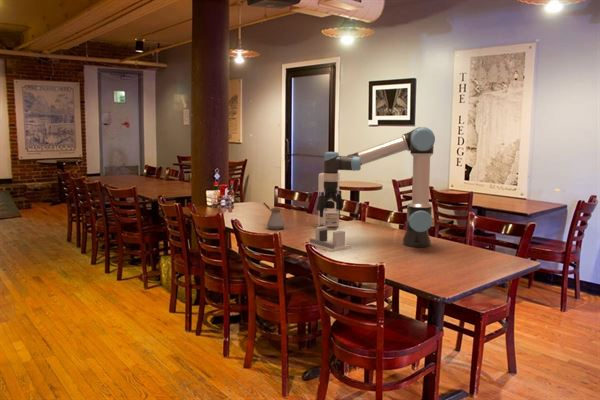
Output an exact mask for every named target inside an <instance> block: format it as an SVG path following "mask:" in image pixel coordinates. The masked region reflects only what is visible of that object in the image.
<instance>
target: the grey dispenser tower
mask: <svg viewBox="0 0 600 400" xmlns="http://www.w3.org/2000/svg"><path fill="white" fill-rule="evenodd" d="M324 181H325V180H324V172H321V173H319V174H318V190H317V191H318V193H317V195H318V196H317V197H318V198H317V200H319V192H323V191H324ZM337 182H338V188H337V190H340V173H339V172H338V180H337ZM336 196H337V194H336ZM328 201H333V199H332V198H330V199H329V200H328ZM324 210H325V209H324ZM317 219H318V224H317V227H323V226H324V225H322V224H321V223H320V211H319V210H318V218H317ZM339 226H340V224H339V225H338V226H325V227H327V231H338V229H339V228H340V227H339Z"/></svg>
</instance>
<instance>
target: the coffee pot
mask: <svg viewBox="0 0 600 400" xmlns="http://www.w3.org/2000/svg"><path fill="white" fill-rule="evenodd" d="M261 205H263V206H265V207H266V208H267V210H268V211H270V212H271V213H270V216H269V219H268V221H267V223H266V226H267V227H268V228H269V230H271V231H279V230H280V231H281V230H283V228H284V227H285V225H286V224H285V221H284V219H283V216H282V214H281V210H282V209H281V208H279V207H278V208H277V207H275V208H271V207H269V205H267V203H266V202H263V203H262V204H261Z"/></svg>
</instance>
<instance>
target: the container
mask: <svg viewBox="0 0 600 400" xmlns="http://www.w3.org/2000/svg"><path fill="white" fill-rule="evenodd" d="M324 211H325V223H324V224H323V223H321V224H322V225H324V226H338V225H339V226H340V224H339V221H340V215H339V212H338V211H336V202H335V201H328V202H327V204H326V206H325V210H324Z"/></svg>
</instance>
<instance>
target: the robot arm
mask: <svg viewBox="0 0 600 400" xmlns="http://www.w3.org/2000/svg"><path fill="white" fill-rule="evenodd" d="M435 143H436V136H435V134H434V132H433V131H432V130H431V128H428V127H425V126H421V127H419V126H418V127H416V128H414V129H412V130H410V131H408V132H406V133H404V134H402V136H401V137H397V138H395V139H392V140H389V141H385V142H383V143H380V144H377V145H374V146H372V147H369V148H366V149H363V150H360V151H358V152H354V153H352V154H351V153H350V154H348V155H346V156H345V155H340V154H339V152H338V151H326V152H325V153H324V157H323V158H324V160H323V173H324V180H325V181H324V191H323V192H319V200H318V199H317V200H318V201H317V205H316V211H318V212H319V211H320V223H323V224H324V223H325V211H324V209H325V206H326V204H327V202H328V200H329V199H330V198H332V199H333V201H335V202H336V211H338V212H339V216H340V215H341V210H342V209H343V208H344V204H343V198H342V190H340V189H339V190H337V188H338V182H337V180H338V173H339V171H353V172H355V171H356V172H357V171H360V170H361V167H362V166H363V165H366V164H369V163H372V162H375V161H377V160H381V159H384V158H387V157H390V156H392V155H397V154H398V153H402V152H405V151H408V152H409V153H410V155H411V156H412V157H413V158H412V197H411V202H410V203H408V204H407V207H406V230H405V233H404V236H403V238H402V244H403V246H407V247H413V248H426V247H427V248H428V247H431V243H432V242H431V239H430V235H429V229H430V228H431V226H432V225H433V217H432V209H433V208H432V204H431V203H430V201H429V200H430V172H431V157H432V156H433V155H434V145H435ZM336 194H337V196H336Z"/></svg>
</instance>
